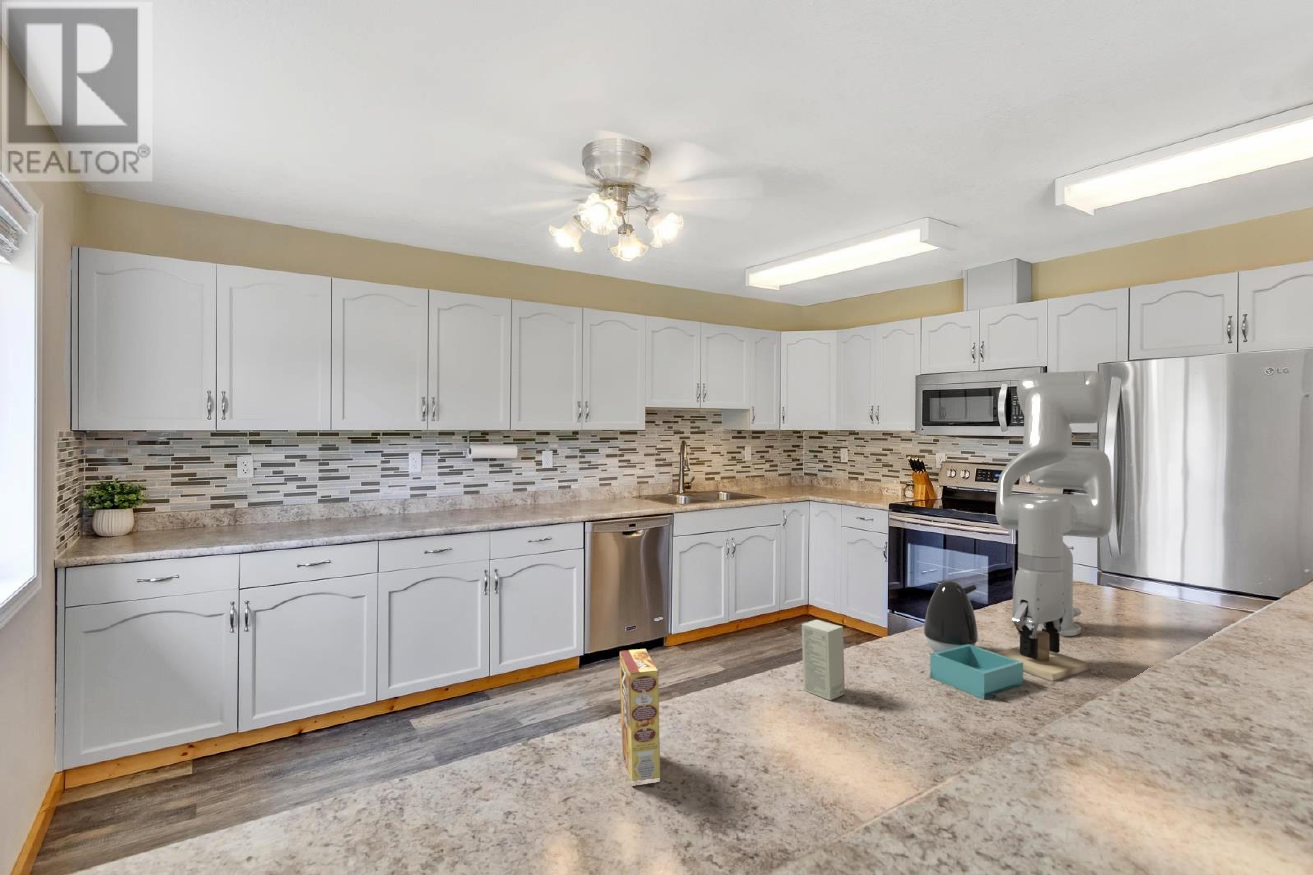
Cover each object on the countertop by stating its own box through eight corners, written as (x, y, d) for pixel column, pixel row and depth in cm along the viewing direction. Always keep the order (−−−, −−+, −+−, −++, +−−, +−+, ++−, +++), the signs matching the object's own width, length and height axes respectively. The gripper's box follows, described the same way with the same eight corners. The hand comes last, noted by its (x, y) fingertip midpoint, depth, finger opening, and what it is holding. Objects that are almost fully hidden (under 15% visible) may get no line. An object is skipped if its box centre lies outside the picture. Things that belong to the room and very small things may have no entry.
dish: (968, 666, 124) (968, 644, 124) (1023, 687, 114) (1023, 662, 114) (930, 677, 119) (930, 653, 119) (984, 699, 109) (984, 673, 109)
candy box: (661, 784, 84) (660, 670, 83) (630, 788, 83) (629, 673, 83) (647, 750, 92) (646, 647, 92) (619, 754, 91) (618, 650, 91)
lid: (1028, 649, 132) (1028, 620, 132) (1089, 669, 121) (1089, 637, 121) (991, 659, 126) (991, 629, 126) (1052, 680, 116) (1052, 647, 116)
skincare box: (845, 695, 111) (845, 627, 111) (829, 701, 108) (829, 632, 108) (816, 683, 116) (816, 618, 116) (801, 689, 113) (800, 623, 113)
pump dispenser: (988, 662, 126) (988, 587, 126) (936, 662, 126) (936, 587, 126) (964, 645, 136) (964, 575, 136) (916, 644, 136) (916, 575, 136)
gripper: (1047, 555, 131) (1046, 641, 131) (994, 564, 123) (993, 655, 123) (1085, 562, 124) (1085, 652, 124) (1032, 572, 116) (1031, 668, 116)
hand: (1039, 652), depth 124 cm, fingers open, 6 cm apart
